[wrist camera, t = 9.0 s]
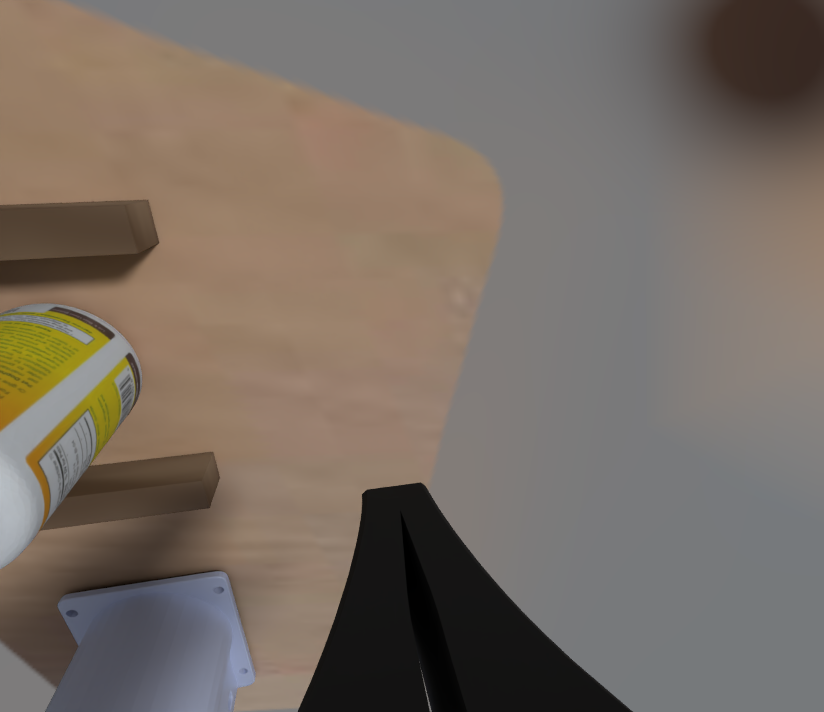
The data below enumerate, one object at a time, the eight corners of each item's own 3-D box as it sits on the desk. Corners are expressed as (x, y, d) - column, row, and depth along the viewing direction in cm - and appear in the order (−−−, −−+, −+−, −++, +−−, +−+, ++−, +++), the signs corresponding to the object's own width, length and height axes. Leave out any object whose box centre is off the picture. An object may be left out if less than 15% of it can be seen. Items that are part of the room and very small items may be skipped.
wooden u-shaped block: (219, 477, 21) (209, 507, 19) (-43, 510, 19) (-81, 546, 17) (147, 199, 16) (124, 205, 14) (-222, 213, 14) (-302, 221, 12)
